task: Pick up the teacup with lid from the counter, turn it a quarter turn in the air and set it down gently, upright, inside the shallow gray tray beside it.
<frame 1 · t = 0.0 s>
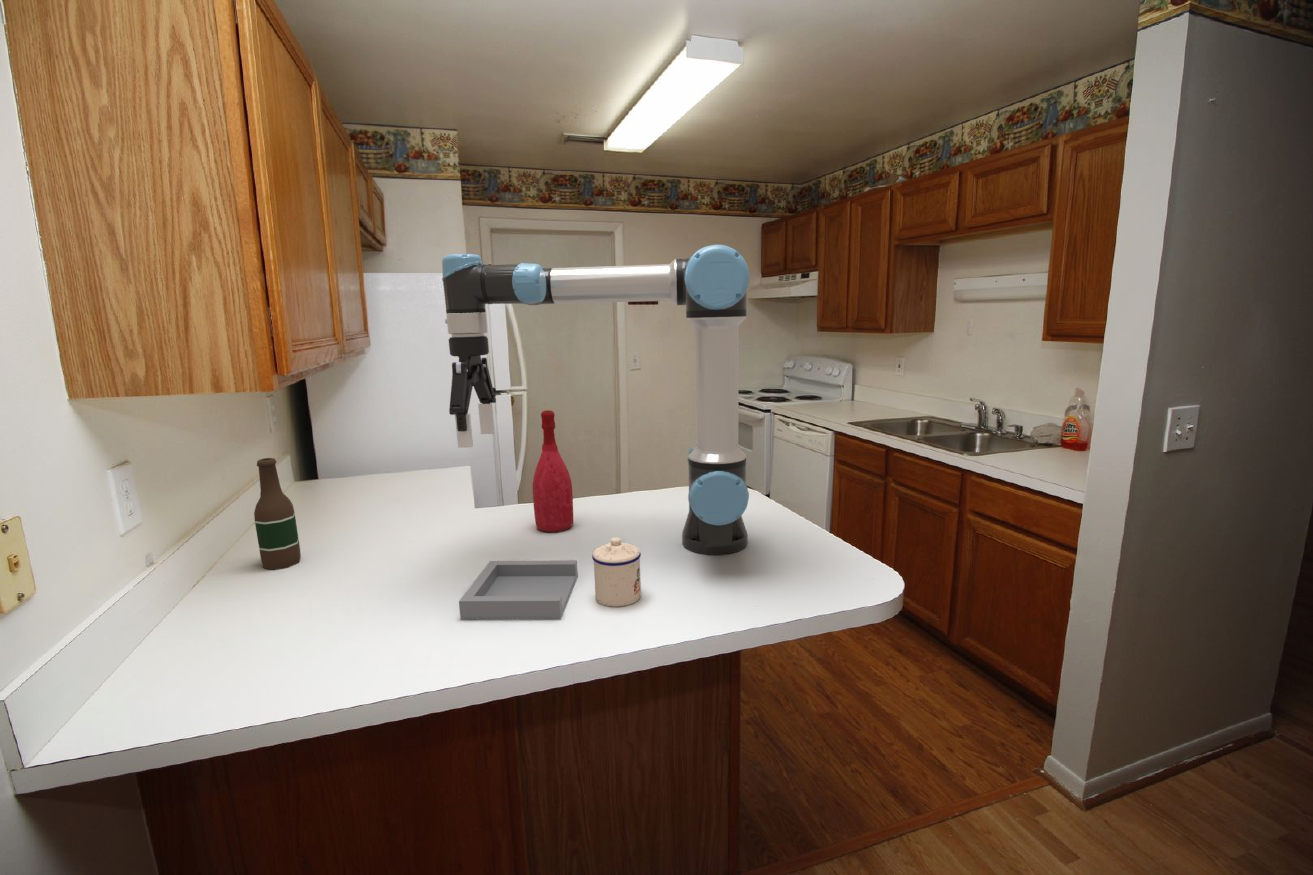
hand: (477, 440, 126), 28 cm above the counter, tool pointing down, fingers open, 13 cm apart
shallow gray tray: (523, 596, 117), on the counter
beer bottle: (282, 564, 137), on the counter
teacup with lid: (617, 594, 118), on the counter
wine bottle: (554, 527, 156), on the counter
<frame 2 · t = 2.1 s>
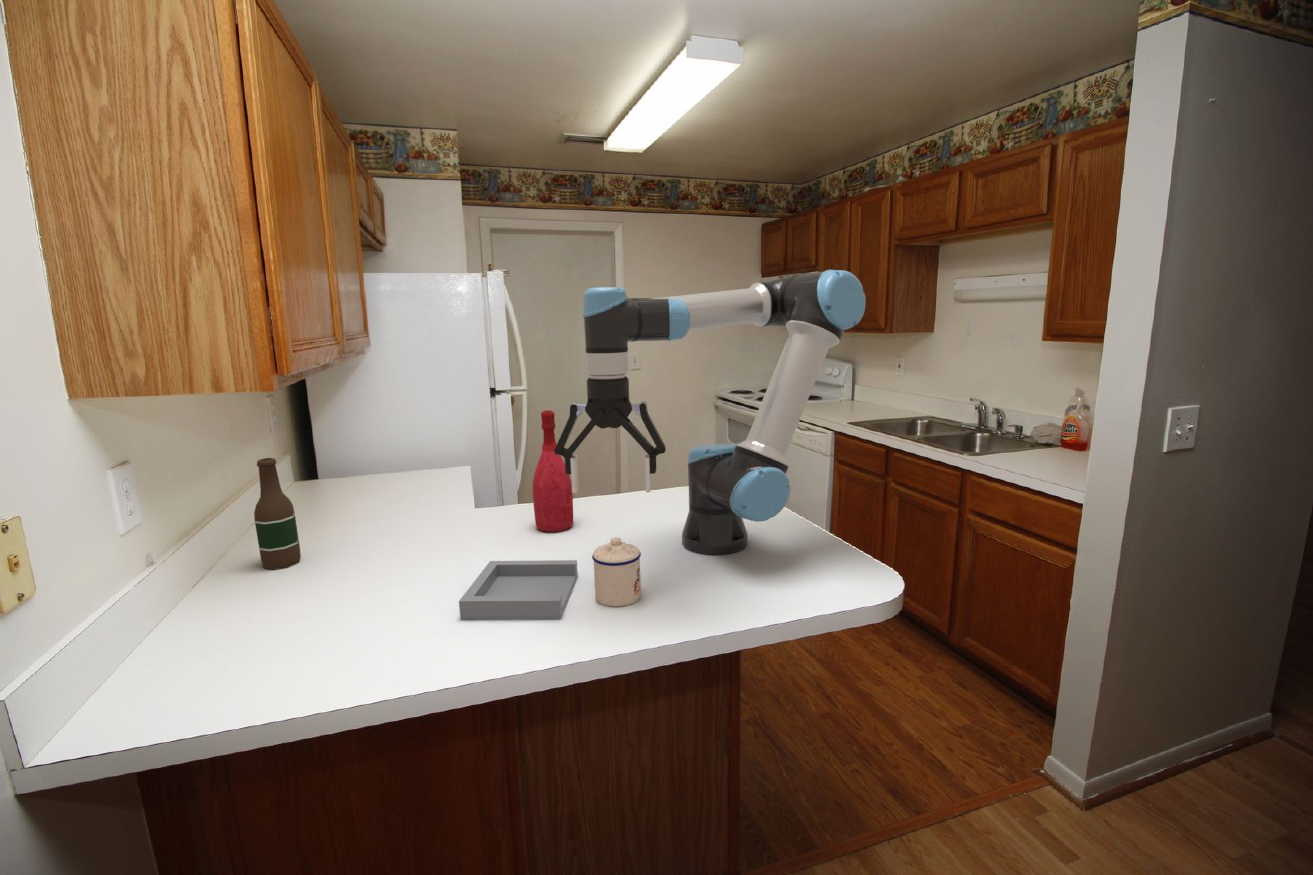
hand: (611, 490, 113), 21 cm above the counter, tool pointing down, fingers open, 13 cm apart
nothing on the counter moved.
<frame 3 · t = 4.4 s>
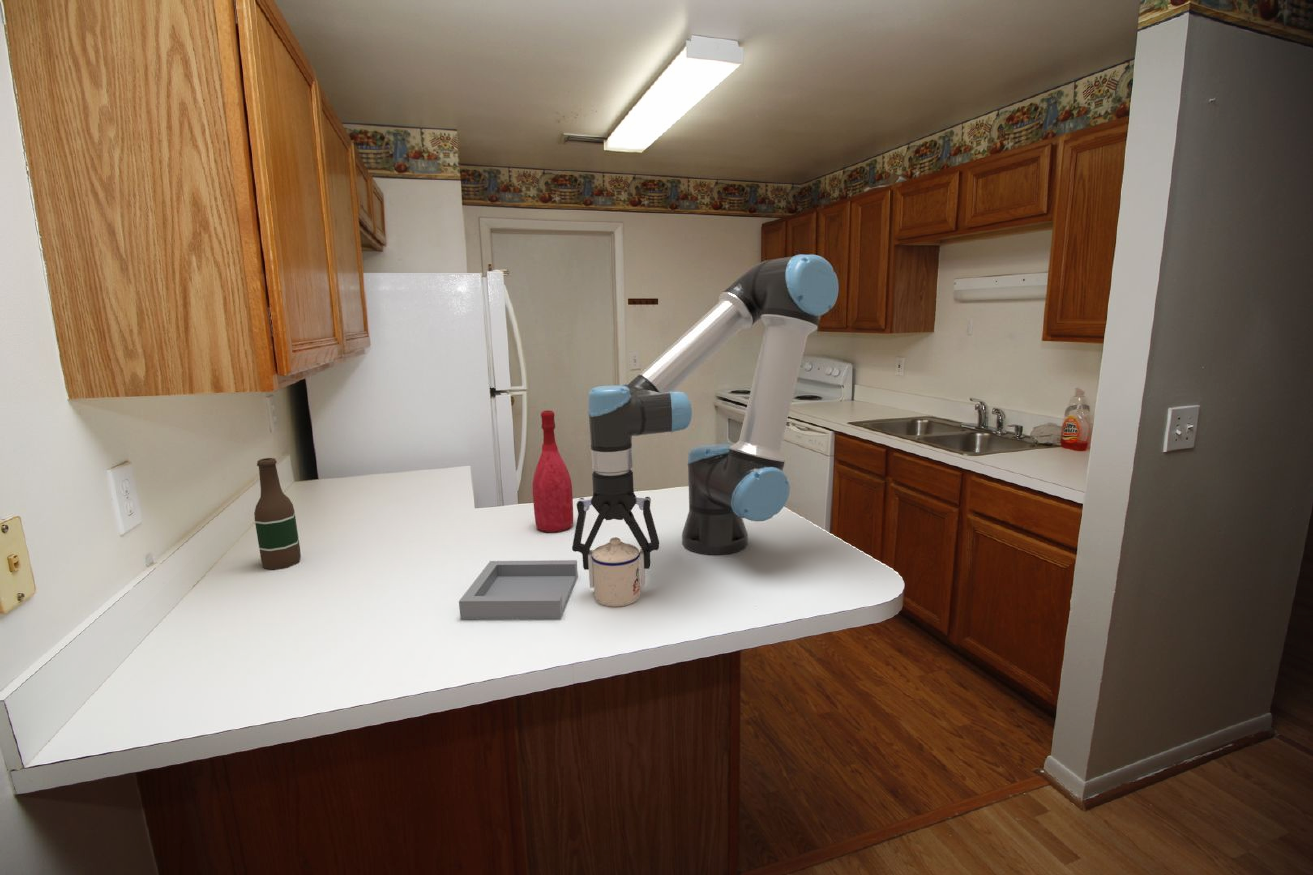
hand: (617, 584, 117), 2 cm above the counter, tool pointing down, fingers closed on teacup with lid, 9 cm apart
teacup with lid: (616, 594, 118), on the counter, touching gripper
everything else where it was.
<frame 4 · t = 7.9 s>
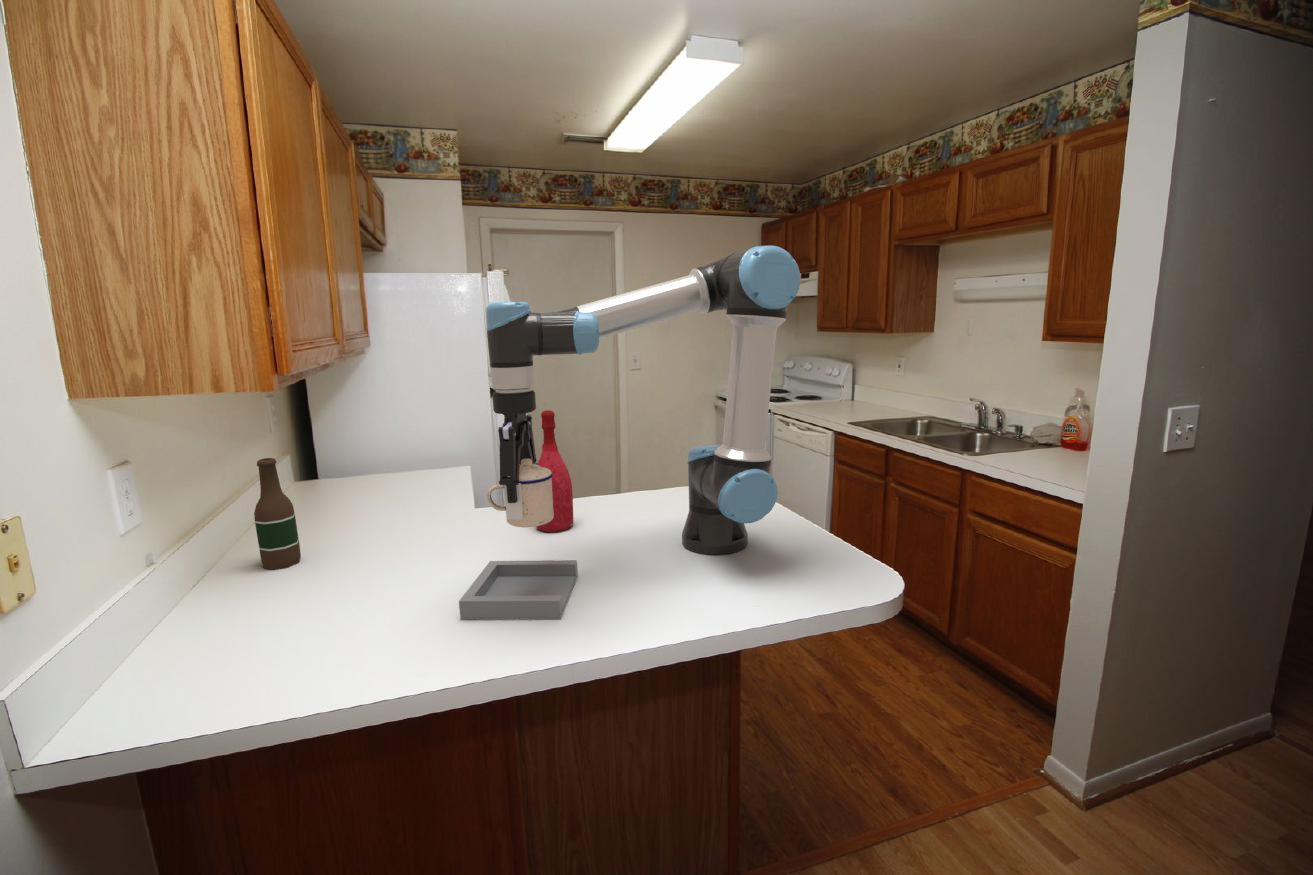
hand: (522, 510, 114), 17 cm above the counter, tool pointing down, fingers closed on teacup with lid, 9 cm apart
teacup with lid: (522, 521, 114), point 15 cm above the counter, touching gripper
everything else where it was.
when the fingers open (4 cm above the counter, at t = 11.1 s): teacup with lid drops 1 cm, resting on shallow gray tray.
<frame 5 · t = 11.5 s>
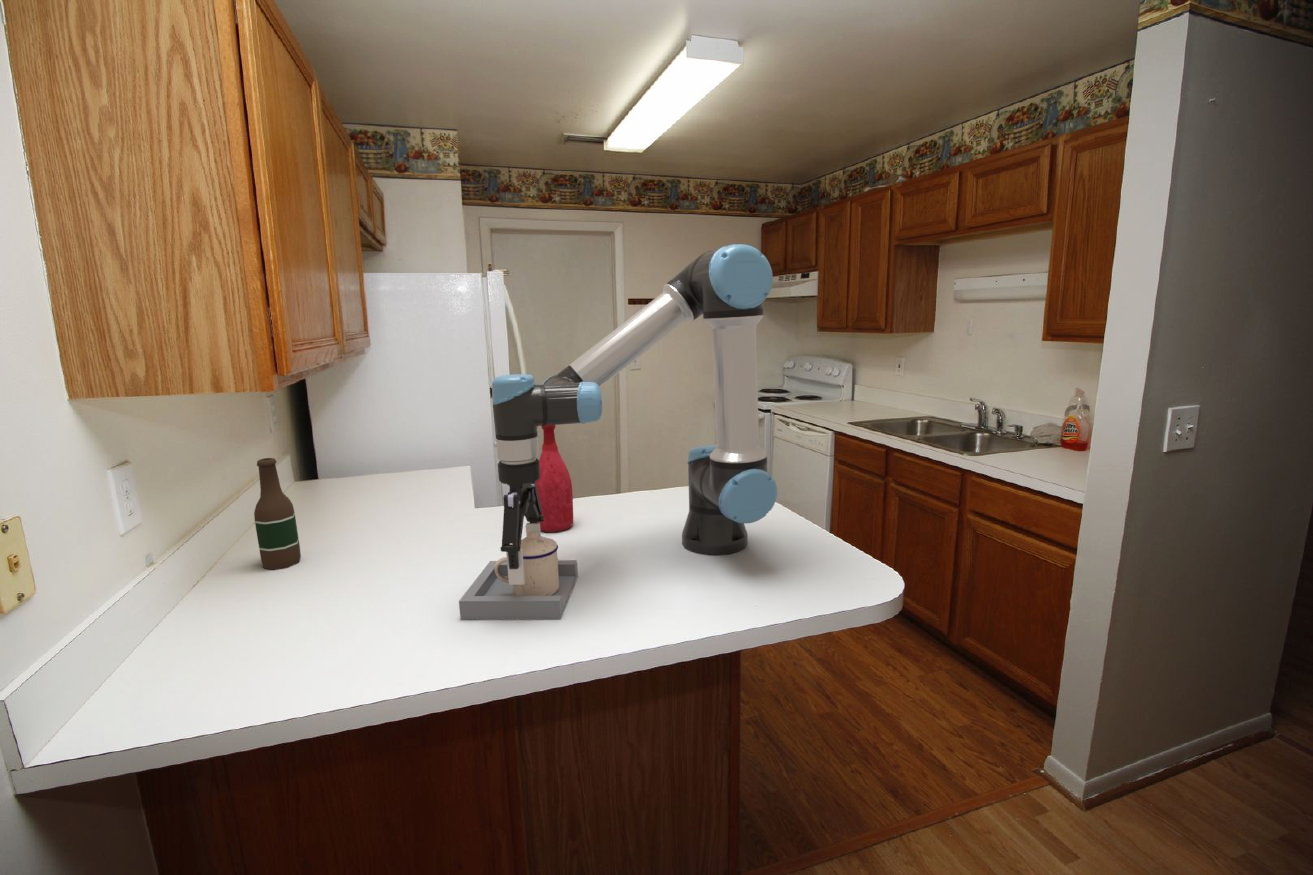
hand: (526, 568, 116), 6 cm above the counter, tool pointing down, fingers open, 13 cm apart
teacup with lid: (529, 592, 117), point 1 cm above the counter, touching shallow gray tray
everything else where it was.
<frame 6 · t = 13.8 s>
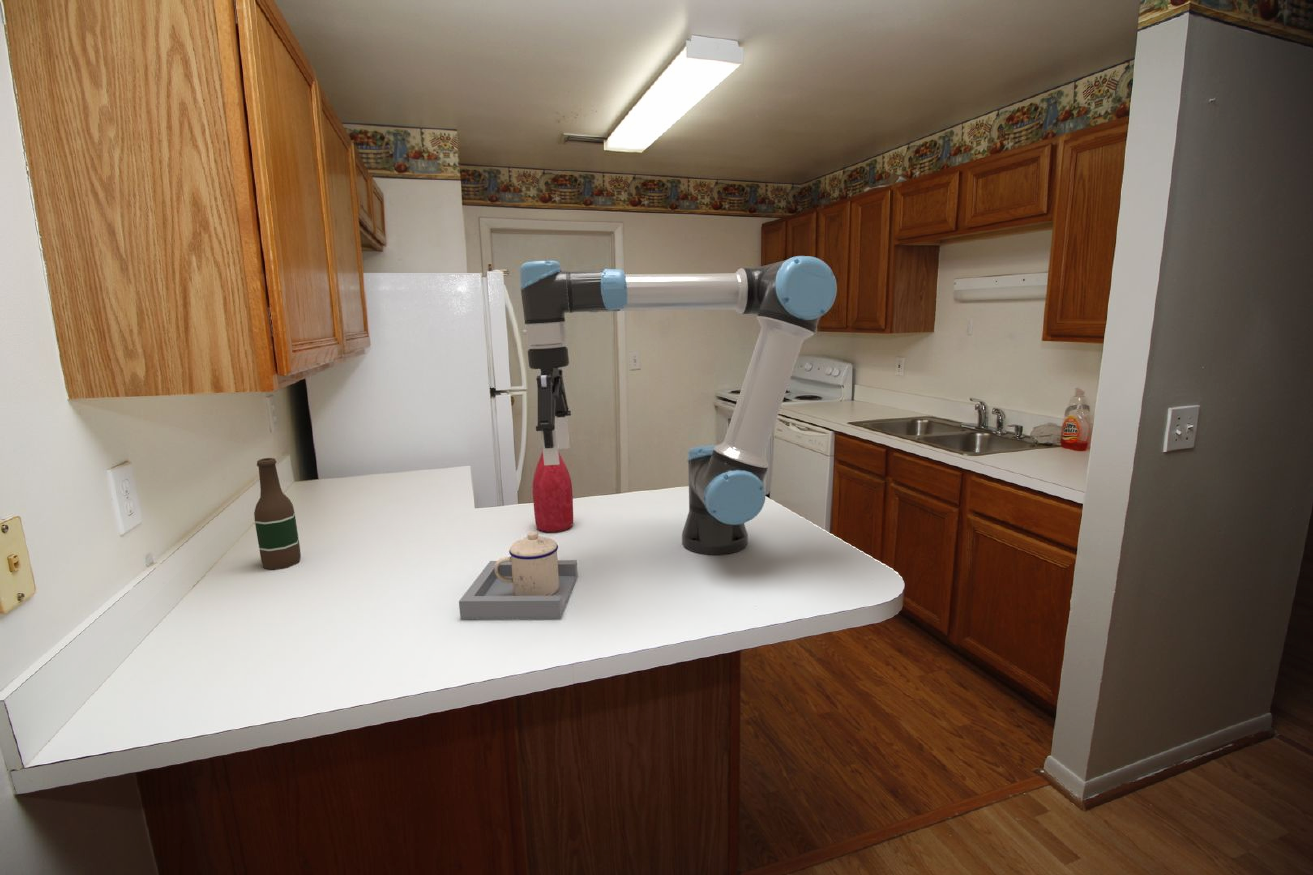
hand: (558, 456, 119), 26 cm above the counter, tool pointing down, fingers open, 13 cm apart
nothing on the counter moved.
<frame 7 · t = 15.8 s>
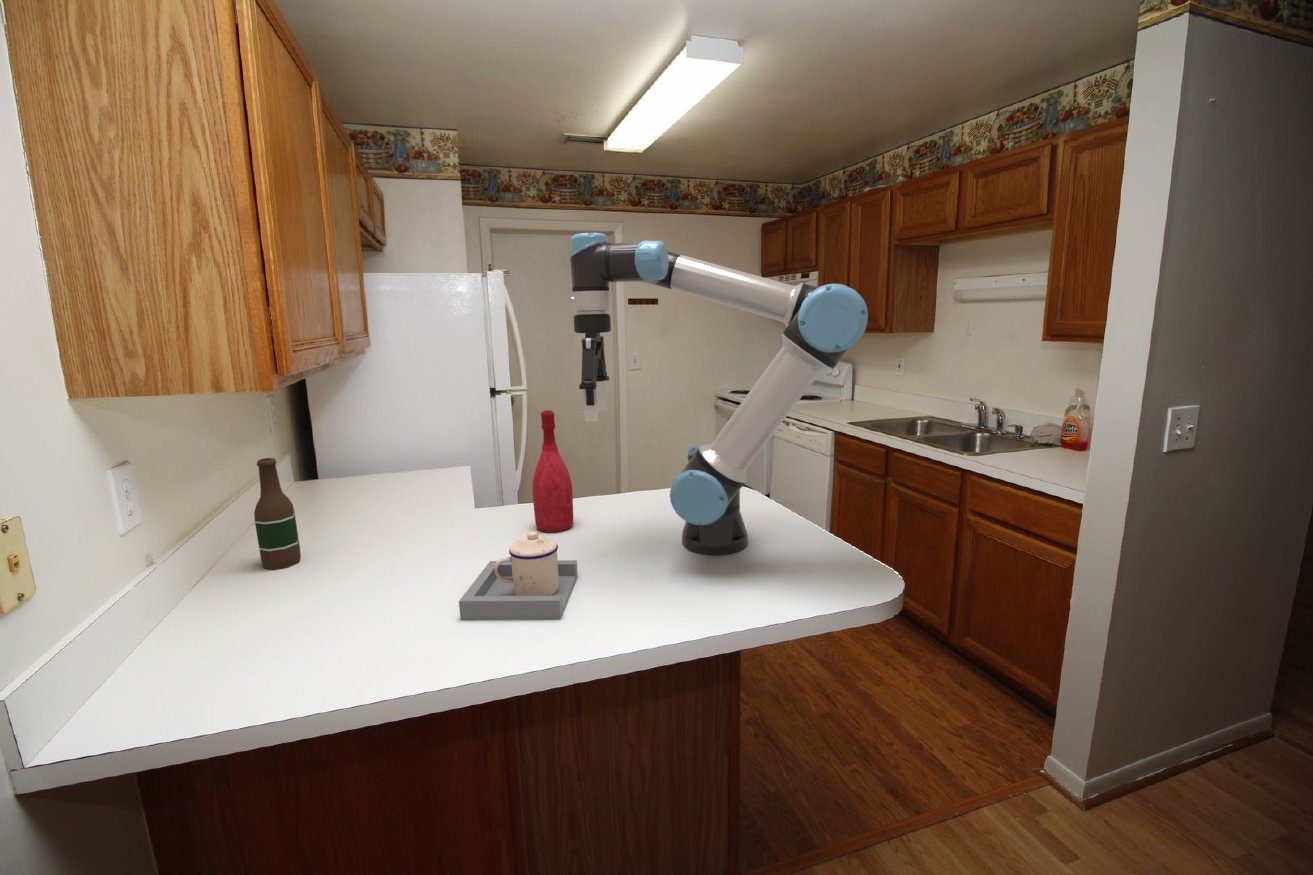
hand: (596, 415, 129), 32 cm above the counter, tool pointing down, fingers open, 13 cm apart
nothing on the counter moved.
at the end: teacup with lid inside the target area on the shallow gray tray (0.2 cm from its centre), point 0.8 cm above the shallow gray tray's base; teacup with lid tilted 0°; the gripper is holding nothing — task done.
